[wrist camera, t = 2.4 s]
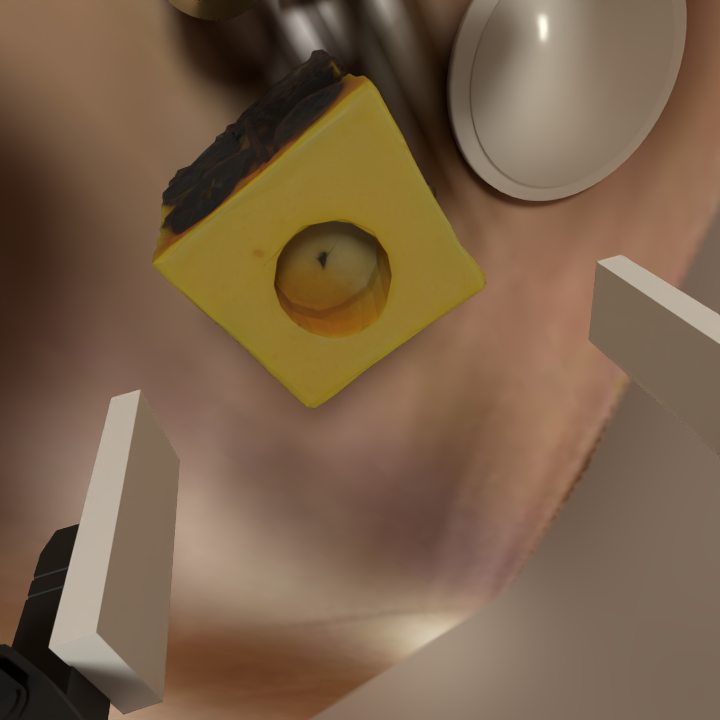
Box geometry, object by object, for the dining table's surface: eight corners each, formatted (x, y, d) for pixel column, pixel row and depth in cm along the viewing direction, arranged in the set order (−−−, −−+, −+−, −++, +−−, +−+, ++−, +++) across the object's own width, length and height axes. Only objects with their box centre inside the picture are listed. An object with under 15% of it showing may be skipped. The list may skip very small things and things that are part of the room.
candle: (319, 43, 25) (371, 63, 17) (423, 208, 30) (499, 282, 22) (160, 180, 26) (137, 258, 18) (287, 312, 32) (312, 415, 24)
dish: (453, 219, 31) (461, 226, 30) (436, -56, 23) (446, -59, 22) (652, 168, 32) (666, 173, 31) (697, -110, 25) (717, -115, 24)
